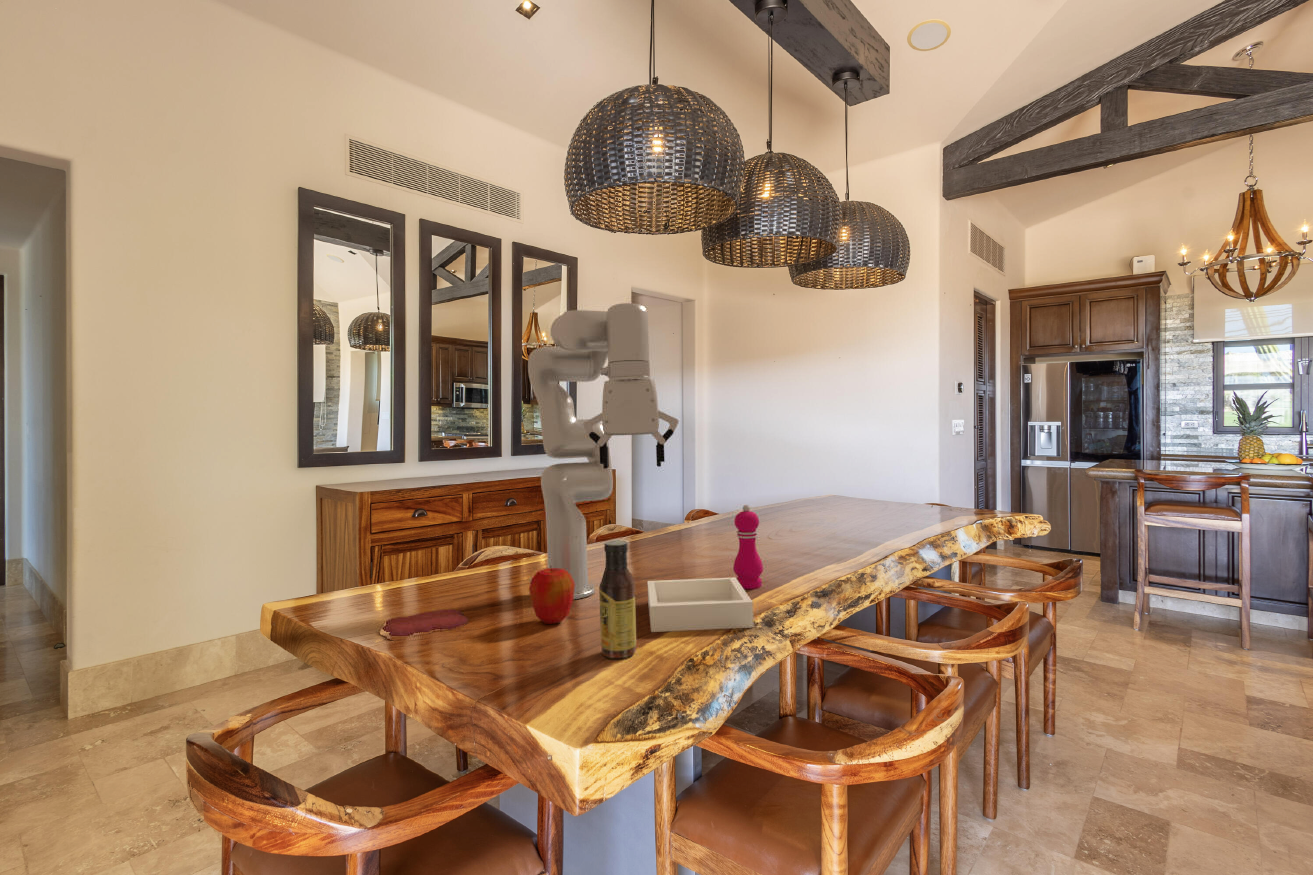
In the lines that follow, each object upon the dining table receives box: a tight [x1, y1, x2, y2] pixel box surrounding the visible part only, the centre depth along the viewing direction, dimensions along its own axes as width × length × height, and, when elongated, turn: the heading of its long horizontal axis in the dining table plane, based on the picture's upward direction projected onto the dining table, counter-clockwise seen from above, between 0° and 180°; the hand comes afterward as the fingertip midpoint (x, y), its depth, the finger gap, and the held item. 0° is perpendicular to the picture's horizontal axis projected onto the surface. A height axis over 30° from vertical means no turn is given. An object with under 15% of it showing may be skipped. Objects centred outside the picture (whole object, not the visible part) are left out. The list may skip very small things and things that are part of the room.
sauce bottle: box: [598, 539, 637, 659], centre depth 109 cm, size 7×6×20 cm
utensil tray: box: [647, 576, 754, 633], centre depth 131 cm, size 20×20×5 cm
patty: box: [381, 609, 469, 636], centre depth 129 cm, size 18×14×2 cm
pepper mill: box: [733, 504, 764, 590], centre depth 152 cm, size 7×7×20 cm
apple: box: [528, 565, 575, 625], centre depth 128 cm, size 9×9×12 cm
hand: (632, 467), depth 113 cm, fingers open, 9 cm apart
